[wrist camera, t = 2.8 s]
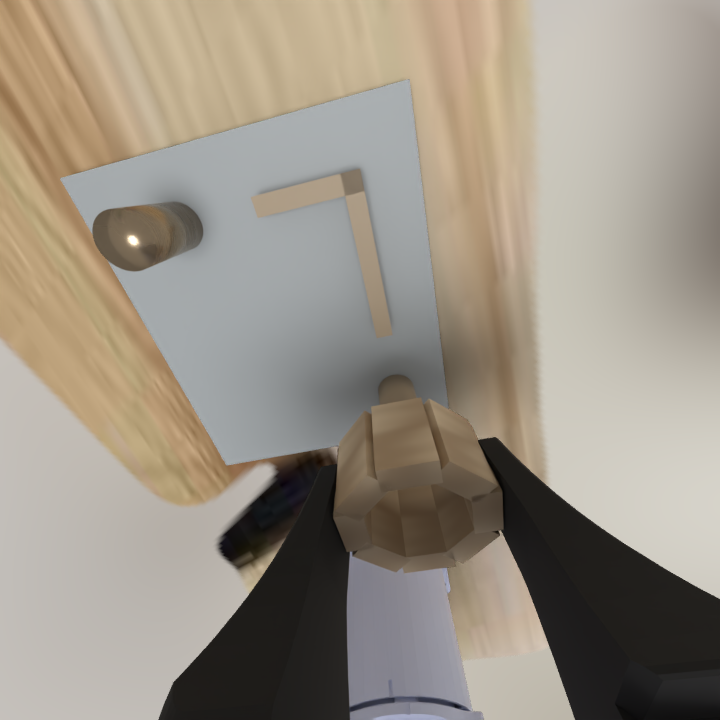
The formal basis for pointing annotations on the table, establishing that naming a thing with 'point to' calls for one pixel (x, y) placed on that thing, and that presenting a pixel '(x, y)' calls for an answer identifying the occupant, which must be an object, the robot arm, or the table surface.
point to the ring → (415, 488)
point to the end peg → (146, 234)
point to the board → (289, 271)
